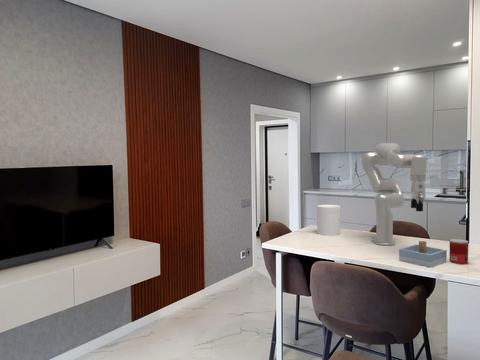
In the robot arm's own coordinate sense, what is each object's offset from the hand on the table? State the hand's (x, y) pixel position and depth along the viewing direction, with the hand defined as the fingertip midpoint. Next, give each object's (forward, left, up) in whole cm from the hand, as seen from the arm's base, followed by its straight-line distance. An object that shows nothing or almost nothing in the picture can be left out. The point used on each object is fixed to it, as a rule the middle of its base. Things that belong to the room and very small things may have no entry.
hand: (416, 209), depth 194 cm
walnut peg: (+8, -9, -25) cm, 28 cm away
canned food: (+20, +3, -25) cm, 32 cm away
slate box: (+8, -9, -25) cm, 28 cm away
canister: (-70, +10, -25) cm, 75 cm away
